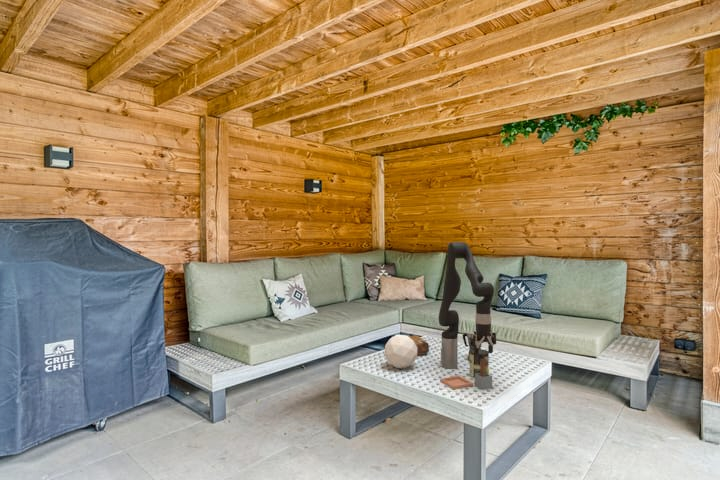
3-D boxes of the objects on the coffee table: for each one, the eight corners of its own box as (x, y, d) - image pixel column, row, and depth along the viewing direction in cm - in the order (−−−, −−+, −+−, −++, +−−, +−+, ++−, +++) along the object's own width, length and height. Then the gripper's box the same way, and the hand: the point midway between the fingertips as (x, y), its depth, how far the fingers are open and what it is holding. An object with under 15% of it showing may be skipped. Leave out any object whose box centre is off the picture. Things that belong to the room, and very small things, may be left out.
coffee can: (492, 377, 227) (492, 351, 227) (480, 381, 221) (480, 355, 221) (477, 372, 235) (477, 347, 235) (465, 376, 229) (465, 350, 229)
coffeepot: (488, 360, 256) (488, 331, 256) (480, 364, 249) (480, 334, 249) (466, 355, 267) (466, 327, 267) (458, 358, 260) (458, 330, 260)
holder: (474, 387, 212) (474, 373, 212) (484, 385, 215) (484, 372, 215) (482, 391, 207) (482, 377, 207) (492, 389, 209) (492, 376, 209)
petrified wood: (432, 355, 267) (429, 340, 266) (413, 360, 264) (410, 346, 263) (420, 346, 286) (417, 332, 285) (403, 351, 283) (400, 337, 282)
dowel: (479, 386, 212) (479, 359, 211) (483, 385, 213) (483, 358, 212) (482, 388, 209) (482, 360, 209) (487, 387, 210) (487, 360, 210)
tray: (440, 383, 219) (440, 378, 219) (459, 379, 223) (459, 375, 223) (453, 391, 208) (453, 386, 208) (473, 387, 212) (473, 383, 212)
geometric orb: (393, 380, 242) (372, 353, 242) (405, 359, 259) (385, 334, 258) (417, 370, 231) (396, 342, 231) (428, 349, 248) (408, 323, 247)
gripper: (489, 319, 216) (489, 350, 217) (467, 321, 211) (467, 353, 211) (499, 322, 209) (499, 354, 210) (476, 324, 204) (476, 357, 204)
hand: (483, 353), depth 210 cm, fingers open, 8 cm apart
